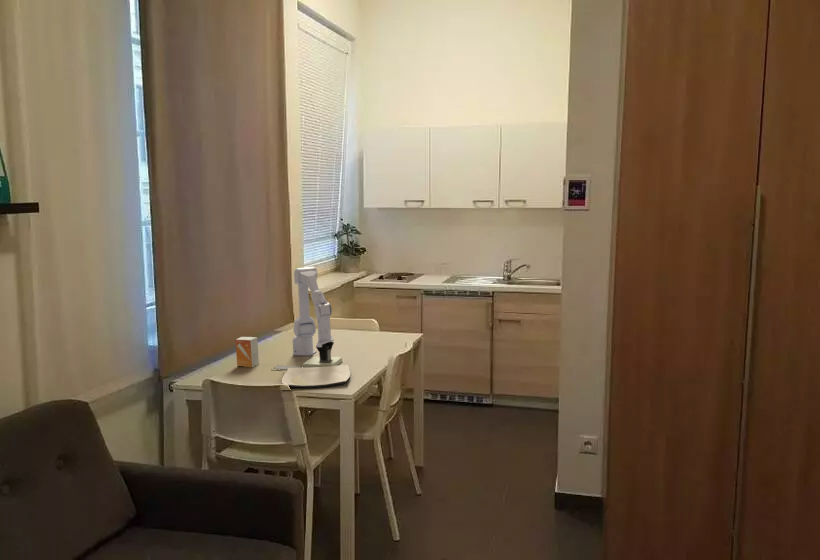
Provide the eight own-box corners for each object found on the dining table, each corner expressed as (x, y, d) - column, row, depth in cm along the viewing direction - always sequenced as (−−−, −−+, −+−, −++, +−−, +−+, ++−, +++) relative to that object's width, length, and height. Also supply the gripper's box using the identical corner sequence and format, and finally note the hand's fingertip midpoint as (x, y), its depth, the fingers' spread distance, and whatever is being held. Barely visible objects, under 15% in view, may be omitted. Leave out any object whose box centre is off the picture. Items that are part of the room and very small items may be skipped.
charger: (319, 363, 310) (319, 349, 309) (323, 361, 314) (322, 346, 313) (328, 363, 309) (327, 349, 308) (331, 361, 313) (330, 347, 312)
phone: (270, 371, 307) (270, 369, 307) (277, 367, 314) (277, 365, 313) (297, 372, 304) (297, 369, 303) (303, 368, 310) (303, 365, 310)
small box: (236, 366, 315) (234, 339, 313) (244, 363, 321) (242, 336, 319) (252, 367, 312) (250, 339, 310) (259, 364, 318) (257, 336, 316)
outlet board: (302, 368, 308) (302, 364, 308) (314, 360, 321) (313, 356, 321) (331, 369, 304) (331, 364, 304) (342, 361, 318) (342, 357, 318)
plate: (286, 372, 303) (286, 367, 302) (350, 369, 304) (350, 363, 304) (278, 391, 274) (278, 385, 274) (349, 388, 276) (349, 381, 276)
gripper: (326, 333, 301) (328, 363, 303) (337, 326, 315) (339, 355, 317) (312, 333, 303) (313, 362, 305) (323, 326, 317) (325, 354, 319)
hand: (325, 359), depth 311 cm, fingers closed on charger, 4 cm apart
